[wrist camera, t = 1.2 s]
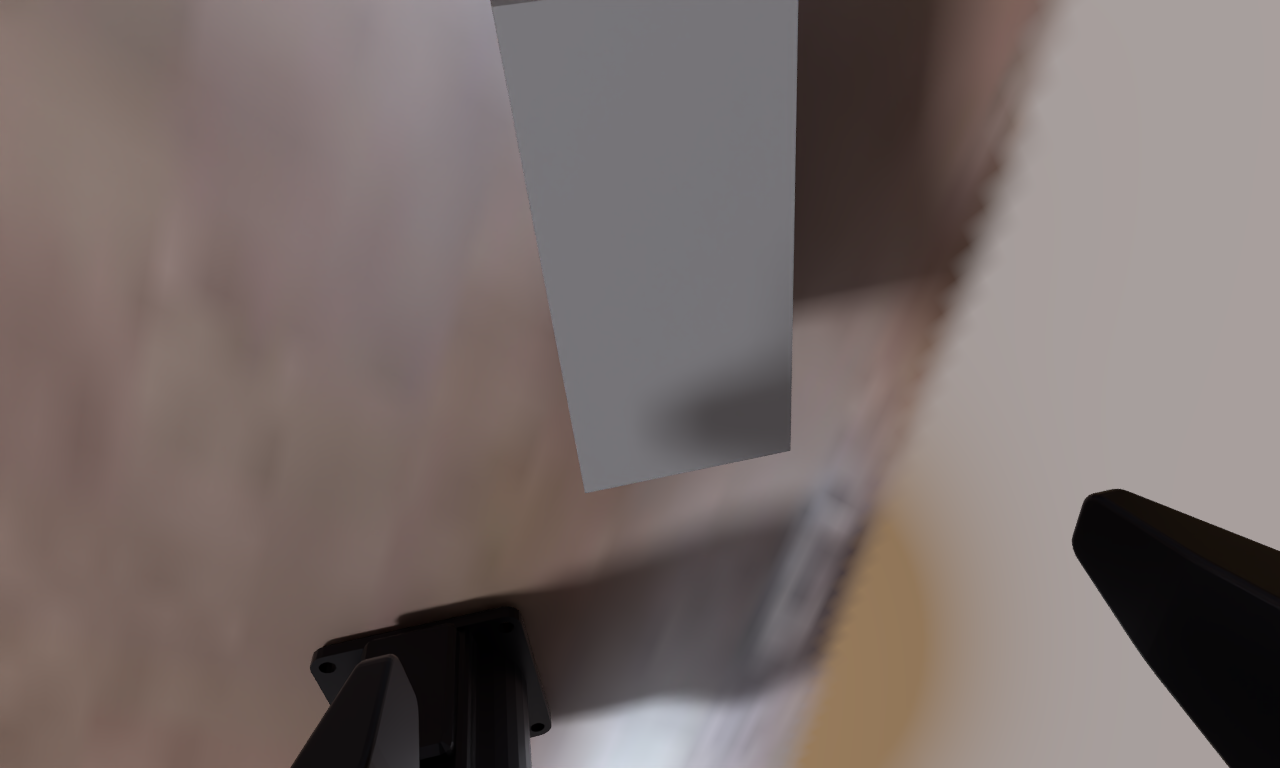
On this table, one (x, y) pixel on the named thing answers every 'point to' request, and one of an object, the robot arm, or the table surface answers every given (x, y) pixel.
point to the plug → (662, 221)
